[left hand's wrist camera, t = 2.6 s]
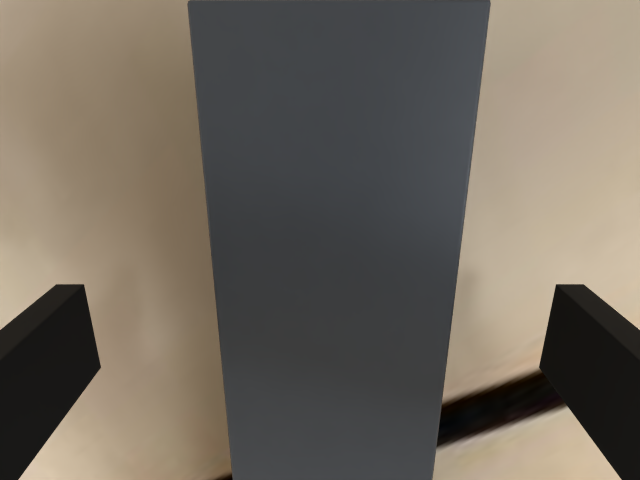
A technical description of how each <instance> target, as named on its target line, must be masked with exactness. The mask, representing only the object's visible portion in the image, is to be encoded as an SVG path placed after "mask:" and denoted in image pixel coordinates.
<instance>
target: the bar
mask: <svg viewBox="0 0 640 480" xmlns="http://www.w3.org/2000/svg"><path fill="white" fill-rule="evenodd" d="M490 4H491V3H490V0H190V1H188V14H189V24H190V35H191V45H192V56H193V66H194V77H195V88H196V98H197V109H198V119H199V130H200V140H201V151H202V161H203V172H204V182H205V193H206V203H207V214H208V224H209V235H210V245H211V256H212V266H213V277H214V287H215V298H216V308H217V319H218V329H219V340H220V350H221V361H222V371H223V382H224V392H225V403H226V413H227V424H228V434H229V445H230V455H231V466H232V476H233V480H432V478H433V470H434V462H435V454H436V445H437V437H438V429H439V421H440V413H441V405H442V396H443V388H444V380H445V372H446V364H447V356H448V347H449V339H450V331H451V323H452V315H453V306H454V298H455V290H456V282H457V274H458V266H459V257H460V249H461V241H462V233H463V225H464V217H465V208H466V200H467V192H468V184H469V176H470V168H471V159H472V151H473V143H474V135H475V127H476V118H477V110H478V102H479V94H480V86H481V78H482V69H483V61H484V53H485V45H486V37H487V29H488V20H489V12H490Z"/></svg>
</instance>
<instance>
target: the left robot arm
mask: <svg viewBox="0 0 640 480" xmlns="http://www.w3.org/2000/svg"><path fill="white" fill-rule="evenodd" d="M100 368H101V366H100V361H99V356H98V351H97V346H96V341H95V336H94V331H93V327H92V322H91V317H90V312H89V307H88V302H87V297H86V292H85V288H84V284H56V285H55V286H54V287H53V288H51V289H50V290H49V291H48V292H46V293H45V294H44V295H43V296H42V297H40V298H39V299H38V300H37V301H35V302H34V303H33V304H32V305H31V306H29V307H28V308H27V309H26V310H24V311H23V312H22V313H21V314H19V315H18V316H17V317H16V318H15V319H13V320H12V321H11V322H10V323H8V324H7V325H6V326H5V327H4V328H2V329H1V330H0V480H18V479H19V478H20V477H21V475H22V474H23V473H24V471H25V470H26V468H27V467H28V466H29V464H30V463H31V462H32V460H33V459H34V458H35V456H36V455H37V454H38V452H39V451H40V449H41V448H42V447H43V445H44V444H45V443H46V441H47V440H48V439H49V437H50V436H51V435H52V433H53V432H54V430H55V429H56V428H57V426H58V425H59V424H60V422H61V421H62V420H63V418H64V417H65V415H66V414H67V413H68V411H69V410H70V409H71V407H72V406H73V405H74V403H75V402H76V401H77V399H78V398H79V396H80V395H81V394H82V392H83V391H84V390H85V388H86V387H87V386H88V384H89V383H90V382H91V380H92V379H93V377H94V376H95V375H96V373H97V372H98V371H99V369H100ZM539 368H540V369H541V371H542V372H543V373H544V375H545V376H546V377H547V379H548V380H549V382H550V383H551V384H552V386H553V387H554V388H555V390H556V391H557V392H558V394H559V395H560V396H561V398H562V399H563V401H564V402H565V403H566V405H567V406H568V407H569V409H570V410H571V411H572V413H573V414H574V415H575V417H576V418H577V420H578V421H579V422H580V424H581V425H582V426H583V428H584V429H585V430H586V432H587V433H588V435H589V436H590V437H591V439H592V440H593V441H594V443H595V444H596V445H597V447H598V448H599V449H600V451H601V452H602V454H603V455H604V456H605V458H606V459H607V460H608V462H609V463H610V464H611V466H612V467H613V468H614V470H615V471H616V473H617V474H618V475H619V477H620V478H621V479H622V480H640V330H639V329H638V328H636V327H635V326H634V325H633V324H632V323H630V322H629V321H628V320H627V319H625V318H624V317H623V316H622V315H621V314H619V313H618V312H617V311H616V310H614V309H613V308H612V307H611V306H609V305H608V304H607V303H606V302H605V301H603V300H602V299H601V298H600V297H598V296H597V295H596V294H595V293H594V292H592V291H591V290H590V289H589V288H587V287H586V286H585V285H584V284H556V288H555V292H554V297H553V302H552V307H551V312H550V317H549V322H548V327H547V331H546V336H545V341H544V346H543V351H542V356H541V361H540V366H539Z"/></svg>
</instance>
